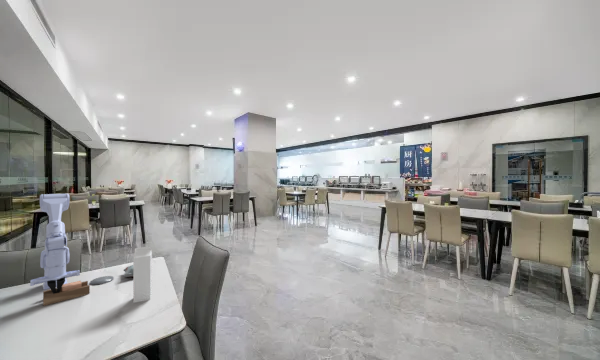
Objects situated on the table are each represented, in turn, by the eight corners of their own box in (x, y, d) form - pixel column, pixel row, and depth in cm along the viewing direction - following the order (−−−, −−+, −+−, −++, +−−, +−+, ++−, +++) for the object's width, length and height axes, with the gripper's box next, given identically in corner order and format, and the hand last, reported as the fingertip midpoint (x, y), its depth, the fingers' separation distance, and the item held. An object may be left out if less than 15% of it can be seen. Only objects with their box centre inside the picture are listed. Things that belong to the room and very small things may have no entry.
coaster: (88, 281, 119) (88, 279, 119) (111, 275, 125) (111, 274, 125) (91, 286, 113) (91, 285, 113) (115, 280, 119) (115, 279, 119)
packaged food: (122, 280, 118) (122, 270, 118) (123, 273, 128) (123, 264, 128) (143, 276, 123) (143, 267, 123) (143, 270, 133) (143, 261, 133)
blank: (62, 296, 104) (62, 284, 104) (80, 291, 108) (80, 280, 108) (62, 299, 101) (62, 287, 101) (81, 294, 105) (81, 283, 105)
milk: (135, 297, 103) (135, 246, 103) (152, 294, 106) (151, 244, 106) (133, 303, 98) (132, 250, 98) (150, 300, 100) (150, 248, 100)
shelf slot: (43, 299, 101) (43, 291, 101) (87, 288, 111) (87, 280, 111) (43, 306, 96) (43, 297, 96) (89, 293, 106) (89, 285, 106)
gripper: (29, 272, 93) (30, 307, 93) (80, 262, 103) (80, 294, 104) (30, 267, 98) (30, 300, 98) (78, 259, 108) (78, 288, 108)
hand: (56, 296), depth 101 cm, fingers closed
